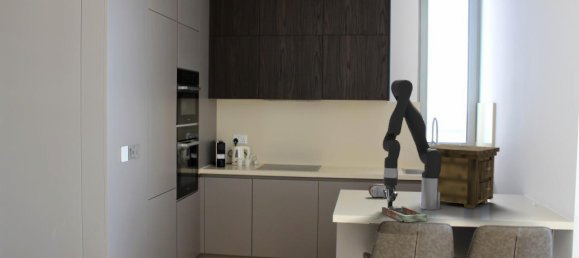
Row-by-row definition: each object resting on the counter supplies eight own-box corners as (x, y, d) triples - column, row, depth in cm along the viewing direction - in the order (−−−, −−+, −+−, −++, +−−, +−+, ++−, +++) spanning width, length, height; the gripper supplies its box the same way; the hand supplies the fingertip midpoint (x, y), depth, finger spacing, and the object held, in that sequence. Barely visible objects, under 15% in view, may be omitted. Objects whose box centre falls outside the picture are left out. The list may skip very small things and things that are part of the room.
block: (397, 212, 305) (397, 206, 305) (402, 214, 300) (402, 207, 300) (388, 213, 303) (389, 206, 303) (393, 214, 298) (394, 208, 298)
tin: (392, 197, 354) (392, 183, 353) (393, 198, 351) (393, 184, 350) (368, 197, 353) (368, 183, 353) (369, 197, 350) (369, 184, 350)
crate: (441, 195, 361) (443, 144, 360) (497, 202, 340) (499, 147, 339) (418, 203, 334) (419, 147, 332) (477, 210, 312) (479, 151, 311)
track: (403, 211, 306) (403, 206, 306) (427, 220, 283) (427, 214, 283) (381, 212, 303) (381, 207, 302) (403, 222, 280) (403, 216, 280)
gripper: (402, 177, 302) (402, 210, 302) (391, 174, 314) (390, 205, 315) (389, 178, 299) (389, 210, 300) (378, 174, 312) (378, 206, 313)
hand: (390, 208), depth 308 cm, fingers closed
